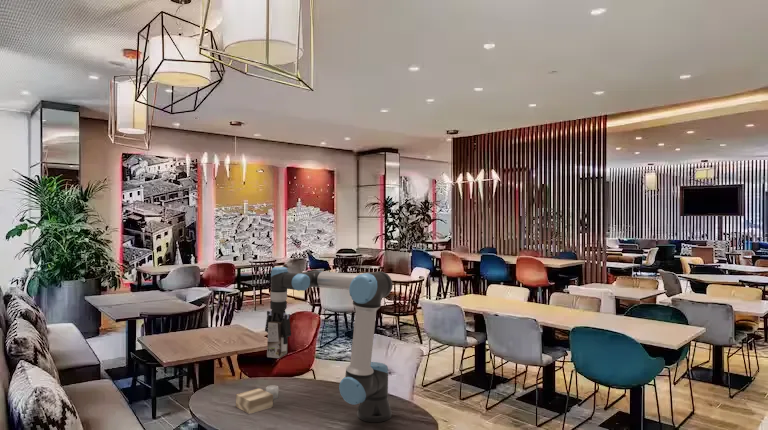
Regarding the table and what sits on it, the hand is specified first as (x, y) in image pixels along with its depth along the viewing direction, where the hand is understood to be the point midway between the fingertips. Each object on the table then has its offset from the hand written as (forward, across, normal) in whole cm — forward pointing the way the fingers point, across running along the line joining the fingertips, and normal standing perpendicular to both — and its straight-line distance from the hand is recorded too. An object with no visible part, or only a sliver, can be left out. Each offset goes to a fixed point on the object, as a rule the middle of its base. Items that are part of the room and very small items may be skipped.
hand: (277, 349), depth 227 cm
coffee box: (+3, 0, 0) cm, 3 cm away
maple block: (+27, +6, +7) cm, 28 cm away
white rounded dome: (+26, +10, -6) cm, 29 cm away
